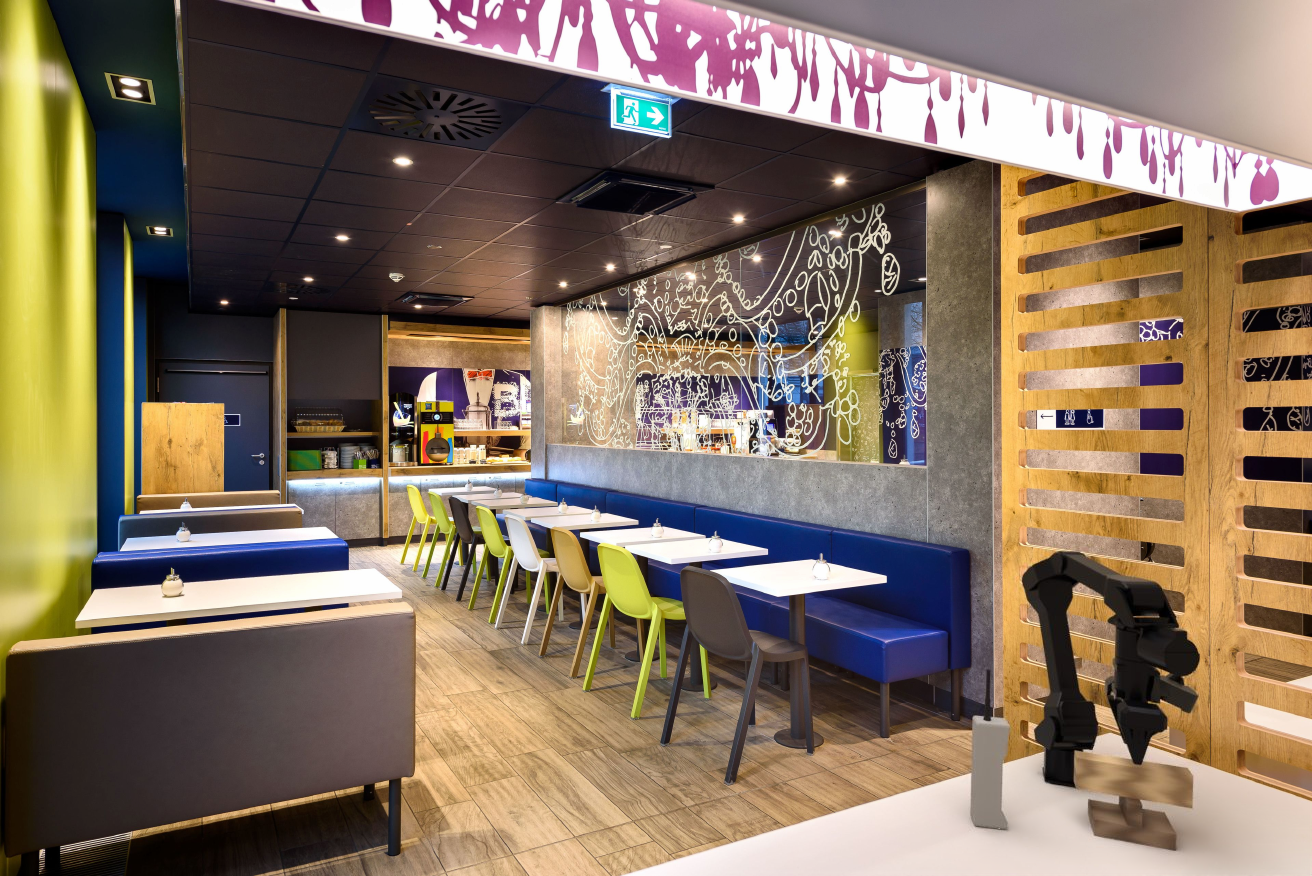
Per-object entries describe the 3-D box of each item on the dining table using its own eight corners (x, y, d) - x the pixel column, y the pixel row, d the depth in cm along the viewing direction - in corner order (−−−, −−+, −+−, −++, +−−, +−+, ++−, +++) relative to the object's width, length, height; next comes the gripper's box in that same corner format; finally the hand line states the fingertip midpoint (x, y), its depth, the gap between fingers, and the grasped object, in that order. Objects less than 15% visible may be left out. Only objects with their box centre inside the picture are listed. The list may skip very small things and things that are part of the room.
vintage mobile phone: (1007, 830, 126) (1011, 673, 126) (974, 826, 127) (978, 671, 127) (1002, 819, 130) (1005, 667, 130) (970, 816, 131) (973, 665, 131)
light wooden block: (1076, 788, 128) (1076, 758, 128) (1073, 780, 131) (1074, 750, 132) (1192, 808, 122) (1193, 776, 122) (1187, 799, 125) (1187, 767, 125)
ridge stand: (1094, 835, 125) (1095, 797, 125) (1087, 814, 133) (1088, 778, 133) (1175, 850, 121) (1176, 811, 121) (1164, 827, 128) (1165, 790, 128)
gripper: (1209, 680, 116) (1206, 786, 116) (1180, 650, 134) (1178, 743, 134) (1122, 670, 121) (1119, 772, 121) (1105, 642, 138) (1102, 731, 138)
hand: (1132, 754), depth 128 cm, fingers open, 9 cm apart
